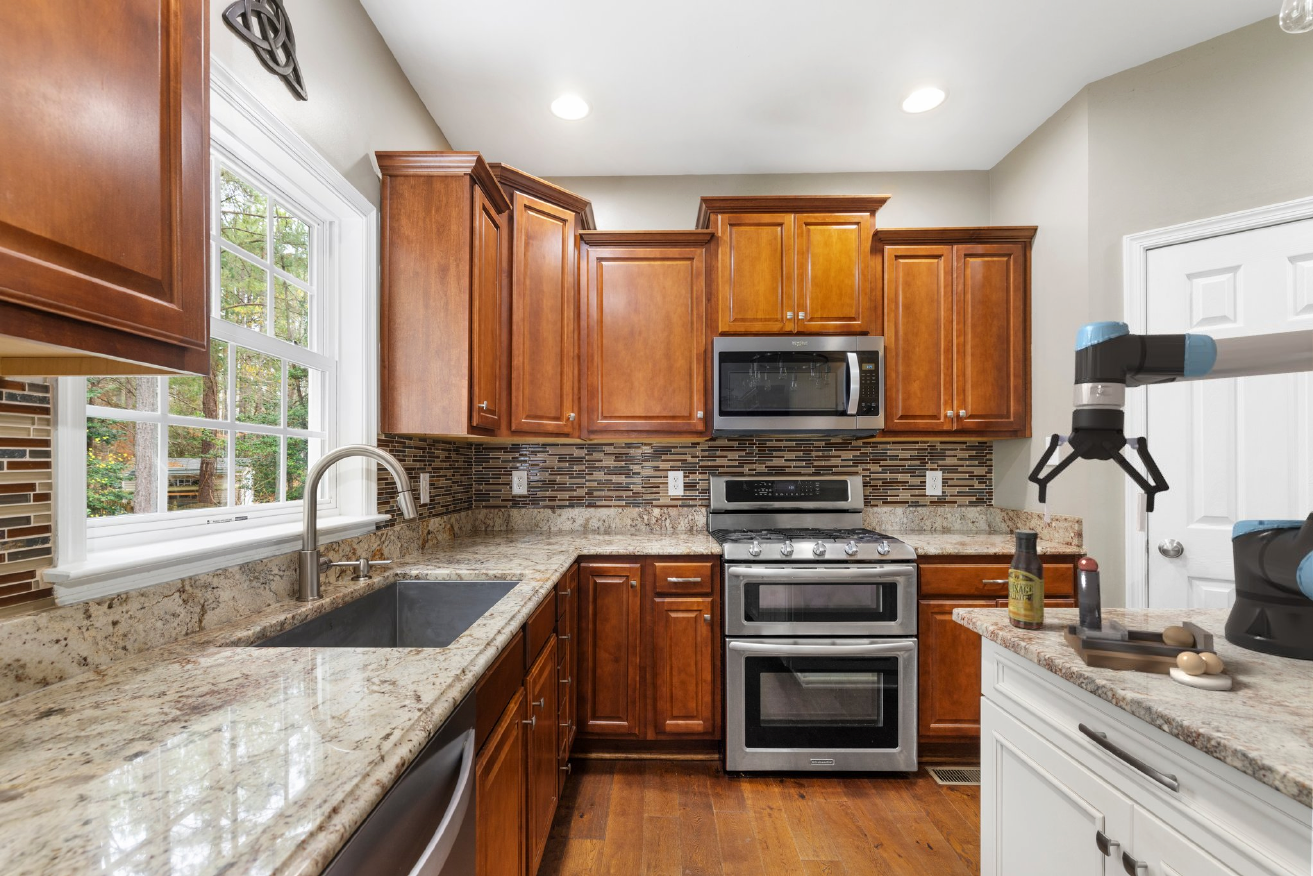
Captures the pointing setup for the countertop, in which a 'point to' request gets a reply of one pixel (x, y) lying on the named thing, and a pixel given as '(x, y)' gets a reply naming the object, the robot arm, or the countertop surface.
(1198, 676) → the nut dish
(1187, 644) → the walnut
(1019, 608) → the sauce bottle
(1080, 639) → the tray
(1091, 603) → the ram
